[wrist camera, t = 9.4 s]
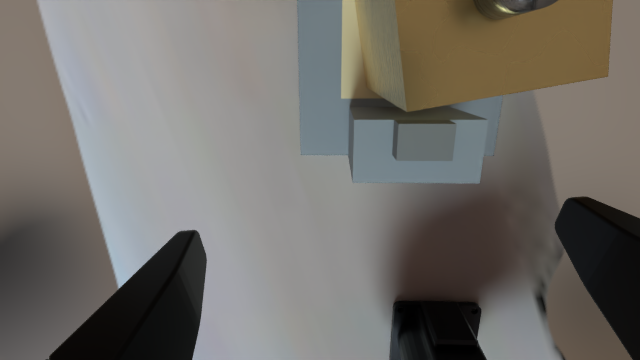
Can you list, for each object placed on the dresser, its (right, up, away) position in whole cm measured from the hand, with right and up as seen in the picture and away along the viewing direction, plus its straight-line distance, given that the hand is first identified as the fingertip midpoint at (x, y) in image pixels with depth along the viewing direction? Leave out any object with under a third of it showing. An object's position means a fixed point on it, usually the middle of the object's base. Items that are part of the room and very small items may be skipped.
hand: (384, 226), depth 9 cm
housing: (+3, +9, +11) cm, 15 cm away
